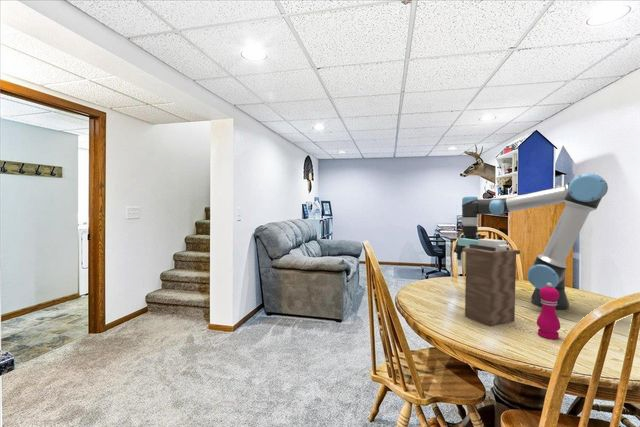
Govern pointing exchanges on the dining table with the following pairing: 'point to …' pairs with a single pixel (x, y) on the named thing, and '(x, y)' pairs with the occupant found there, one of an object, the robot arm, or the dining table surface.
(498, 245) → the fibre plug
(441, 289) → the dining table surface
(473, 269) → the wood-grain storage bin
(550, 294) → the pepper mill
